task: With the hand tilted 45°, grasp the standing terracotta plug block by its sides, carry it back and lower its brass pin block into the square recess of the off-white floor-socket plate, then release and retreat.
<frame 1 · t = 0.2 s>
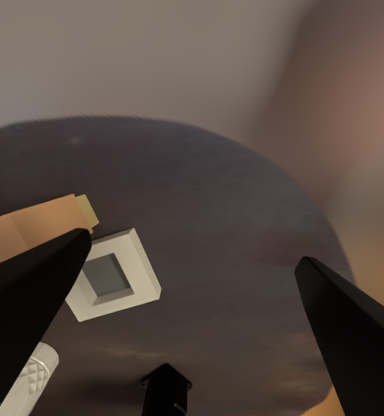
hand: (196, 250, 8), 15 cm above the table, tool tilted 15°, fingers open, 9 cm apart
white cup: (39, 354, 30), on the table
plug: (78, 213, 23), on the table
socket: (108, 271, 26), on the table
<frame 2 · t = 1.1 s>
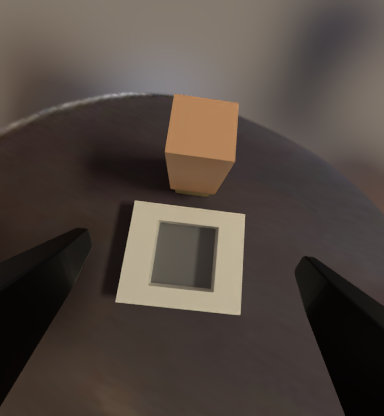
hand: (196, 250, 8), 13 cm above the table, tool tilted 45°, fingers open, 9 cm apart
plug: (193, 179, 23), on the table
socket: (184, 254, 20), on the table
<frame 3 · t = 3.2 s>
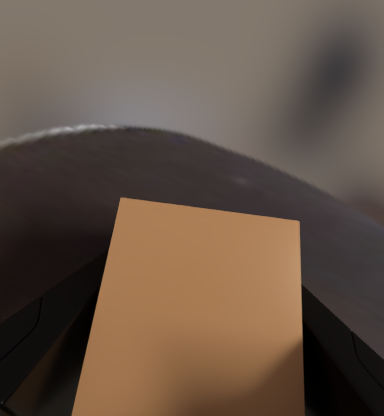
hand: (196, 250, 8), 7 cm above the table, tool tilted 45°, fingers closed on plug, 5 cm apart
plug: (186, 270, 14), on the table, touching gripper
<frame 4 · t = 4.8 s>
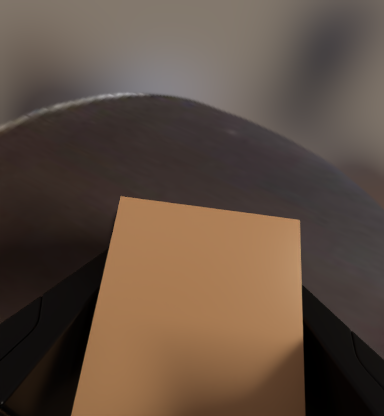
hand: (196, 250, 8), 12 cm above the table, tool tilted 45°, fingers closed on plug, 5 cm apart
plug: (186, 269, 14), point 5 cm above the table, touching gripper
when the fingers open (8 cm above the table, at t = 6.4 s): plug stays where it is, resting on socket.
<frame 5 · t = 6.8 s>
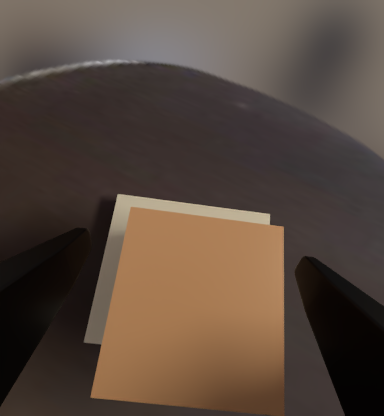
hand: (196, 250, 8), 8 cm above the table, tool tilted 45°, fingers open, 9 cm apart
plug: (186, 269, 15), resting on socket
socket: (186, 268, 15), on the table
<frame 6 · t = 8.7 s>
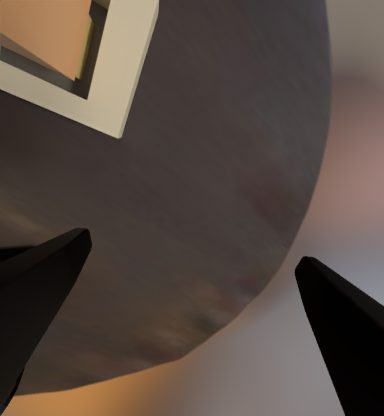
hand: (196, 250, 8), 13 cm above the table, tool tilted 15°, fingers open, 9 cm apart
plug: (58, 38, 14), resting on socket
socket: (59, 38, 14), on the table
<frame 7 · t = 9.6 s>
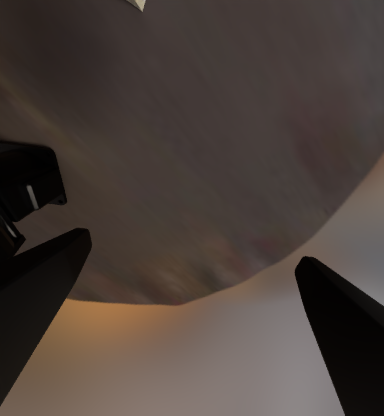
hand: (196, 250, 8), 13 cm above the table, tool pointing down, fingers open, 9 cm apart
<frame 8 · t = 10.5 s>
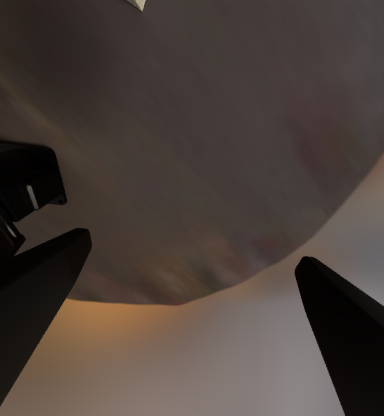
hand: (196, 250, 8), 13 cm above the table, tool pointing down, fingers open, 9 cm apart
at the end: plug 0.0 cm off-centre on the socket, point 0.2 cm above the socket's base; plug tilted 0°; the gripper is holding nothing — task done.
